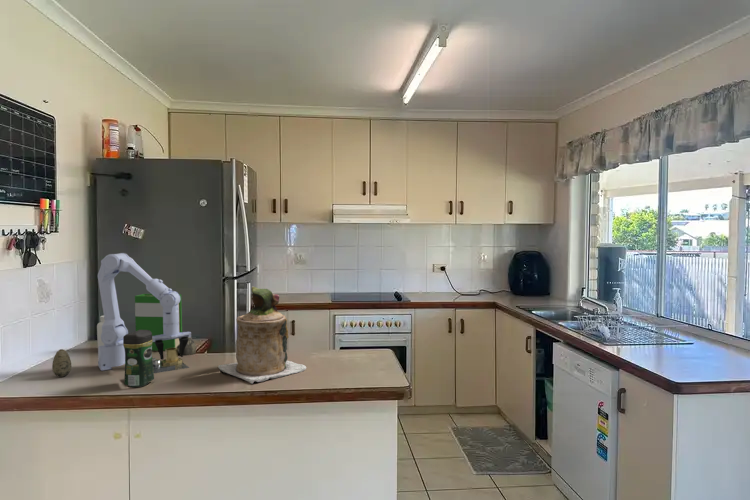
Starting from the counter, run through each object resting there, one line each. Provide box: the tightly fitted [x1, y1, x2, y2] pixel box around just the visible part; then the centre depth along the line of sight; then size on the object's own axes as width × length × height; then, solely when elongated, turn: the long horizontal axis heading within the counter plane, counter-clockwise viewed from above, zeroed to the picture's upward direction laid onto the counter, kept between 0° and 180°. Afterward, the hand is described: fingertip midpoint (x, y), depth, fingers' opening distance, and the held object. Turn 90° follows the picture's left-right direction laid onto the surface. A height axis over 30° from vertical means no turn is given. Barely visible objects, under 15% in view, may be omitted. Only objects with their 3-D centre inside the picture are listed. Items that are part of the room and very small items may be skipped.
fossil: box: [176, 336, 197, 357], centre depth 218 cm, size 11×9×10 cm
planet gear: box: [161, 348, 183, 366], centre depth 200 cm, size 7×7×6 cm
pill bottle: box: [96, 314, 105, 348], centre depth 228 cm, size 8×8×15 cm
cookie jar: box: [217, 286, 307, 384], centre depth 193 cm, size 25×25×32 cm
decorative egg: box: [51, 348, 72, 378], centre depth 187 cm, size 6×6×10 cm
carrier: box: [152, 357, 190, 374], centre depth 198 cm, size 15×17×4 cm
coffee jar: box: [123, 330, 155, 388], centre depth 178 cm, size 10×8×19 cm
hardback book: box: [134, 293, 183, 352], centre depth 229 cm, size 18×7×24 cm, turn 84°
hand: (171, 357), depth 200 cm, fingers open, 7 cm apart
